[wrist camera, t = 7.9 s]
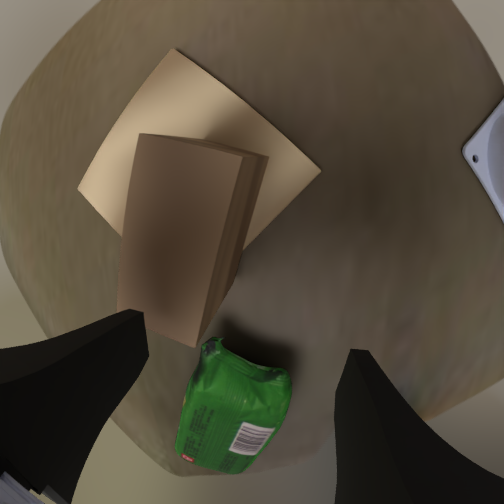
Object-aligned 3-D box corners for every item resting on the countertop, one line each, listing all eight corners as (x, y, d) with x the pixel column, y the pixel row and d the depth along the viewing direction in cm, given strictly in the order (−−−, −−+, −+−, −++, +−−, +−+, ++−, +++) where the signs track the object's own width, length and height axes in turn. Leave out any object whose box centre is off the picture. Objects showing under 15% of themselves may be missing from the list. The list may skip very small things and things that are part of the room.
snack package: (310, 346, 20) (308, 398, 15) (247, 451, 25) (236, 490, 20) (216, 313, 20) (190, 357, 16) (183, 428, 26) (165, 464, 21)
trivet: (321, 170, 16) (321, 170, 15) (193, 300, 20) (190, 303, 20) (175, 50, 15) (172, 47, 14) (81, 187, 19) (77, 188, 19)
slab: (269, 156, 16) (242, 156, 9) (233, 282, 19) (195, 348, 12) (202, 139, 16) (139, 133, 10) (175, 262, 19) (116, 314, 12)
